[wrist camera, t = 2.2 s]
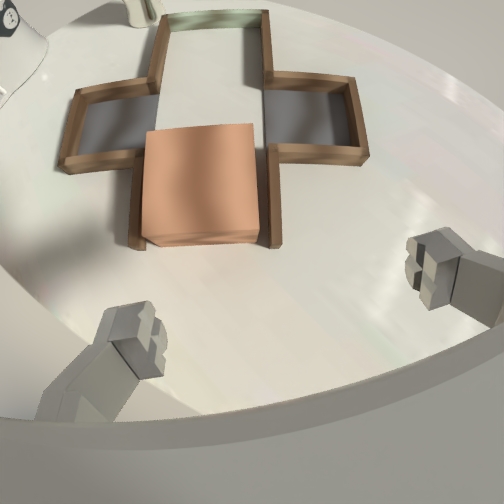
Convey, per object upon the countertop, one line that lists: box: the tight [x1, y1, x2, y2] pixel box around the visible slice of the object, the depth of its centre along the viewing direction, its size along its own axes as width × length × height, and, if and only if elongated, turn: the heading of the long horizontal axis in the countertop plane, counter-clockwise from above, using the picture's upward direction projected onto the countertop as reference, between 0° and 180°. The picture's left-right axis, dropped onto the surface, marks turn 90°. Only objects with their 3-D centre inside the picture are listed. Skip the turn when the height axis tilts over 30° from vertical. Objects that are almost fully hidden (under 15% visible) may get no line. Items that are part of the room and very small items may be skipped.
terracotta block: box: [142, 123, 259, 247], centre depth 30 cm, size 10×10×7 cm
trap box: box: [58, 9, 370, 251], centre depth 34 cm, size 35×33×3 cm
